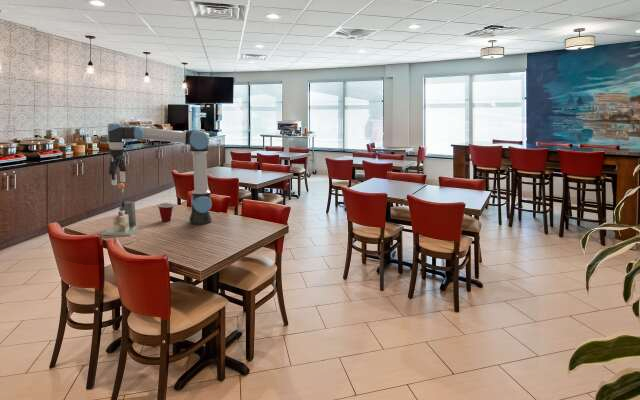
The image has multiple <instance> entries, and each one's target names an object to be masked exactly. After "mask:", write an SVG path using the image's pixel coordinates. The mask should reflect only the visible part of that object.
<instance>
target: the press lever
mask: <svg viewBox="0 0 640 400" xmlns="http://www.w3.org/2000/svg"><path fill="white" fill-rule="evenodd" d="M117 187H118V189H119V201H120V207H119V209H118V211H119V212H120V211H122V212H123V211H124V203H125V197H124V196H125V194H124V188H125V184H124V182H120V183H118V184H117Z"/></svg>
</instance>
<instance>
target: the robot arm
mask: <svg viewBox="0 0 640 400" xmlns="http://www.w3.org/2000/svg"><path fill="white" fill-rule="evenodd" d="M107 139H108V143H107V144H108V148H109V150H108V151H109V156H110V158H109V170H108V175H110V180H111V185H112V186H118V184H117V183H118V182H117V180H118V179H117V174H116V173H117V169H119V177H120V181H119V182H120V183H124V182H126V172H127V168H126V165H125V160H124V150H123V148H124V147H123V146H124V144H123V140H136V141H138V140H149V141H162V142H168V143H169V142H170V143H171V142H172V143H179V144H180V143H182V144H183V145H187V146H189V149H190V151H189V152H191V154H192V160H193V162H192V163H193V164H192V165H193V166H192V167H193V184H194V185H193V187H194V189H193V190H191V191H190V199H191V201H190V203H191V213H190V216H189V219H188V222H189V223H190V224H192V225H206V223H207V224H210V223H212V216H211V213H210V210H211V208H212V205H213V202H212V199H211V190H210V189H209V186H208V185H209V183H208V181H209V180H208V161H207V160H208V159H207V154H208V152H209V144H210V137H209V135H208V134H207V133H206V132H205V131H203V130H200V129H194V130H192V129H191V130H188V129H187V130H186V129H185V130H183V131H182V130H169V129H161V128H153V127H142V126H135V125H133V126H125V127H124V126H122V124H121V123H108V124H107Z"/></svg>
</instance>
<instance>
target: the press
mask: <svg viewBox="0 0 640 400" xmlns="http://www.w3.org/2000/svg"><path fill="white" fill-rule="evenodd" d="M123 211H124V214H128V216H129V229H127V230H126V231H114V230H113V226H112V227H110V228H108V229H107V230H105V231H104V232H103V233H102V236H103V235H111V236H116V237H117V236H123V237H125V236H132V235H133V234H134V233H135V232H137V231H138V230H139V229H140V226H136V225H137V224H136V223H137V221H136V206H135V201H124V210H123Z"/></svg>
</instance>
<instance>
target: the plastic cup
mask: <svg viewBox="0 0 640 400" xmlns="http://www.w3.org/2000/svg"><path fill="white" fill-rule="evenodd" d="M174 206H175V205H174V204H173V203H168V202H167V203H165V202H164V203H163V202H162V203H158V204H157V207H158V209H159V214H160V218H161V219H160V220H161V221H162V222H164V223H168V222H171V220H172V214H173V209H174Z"/></svg>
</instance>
